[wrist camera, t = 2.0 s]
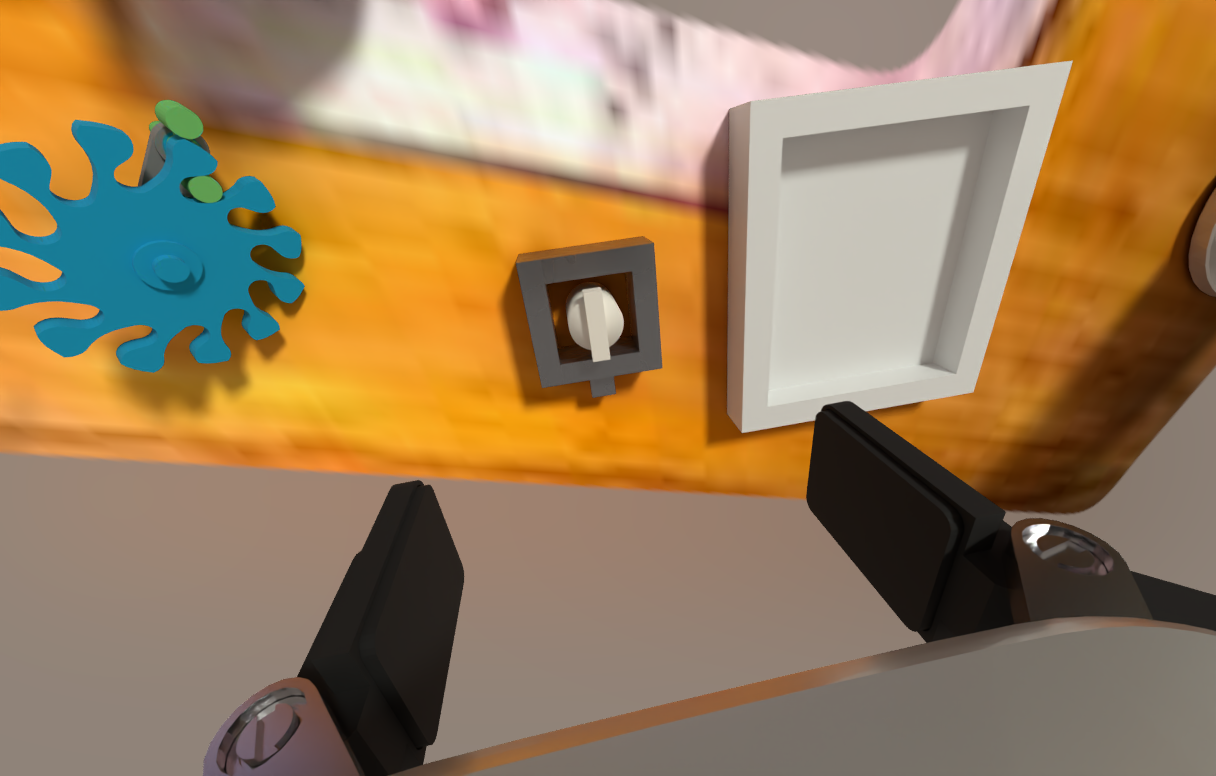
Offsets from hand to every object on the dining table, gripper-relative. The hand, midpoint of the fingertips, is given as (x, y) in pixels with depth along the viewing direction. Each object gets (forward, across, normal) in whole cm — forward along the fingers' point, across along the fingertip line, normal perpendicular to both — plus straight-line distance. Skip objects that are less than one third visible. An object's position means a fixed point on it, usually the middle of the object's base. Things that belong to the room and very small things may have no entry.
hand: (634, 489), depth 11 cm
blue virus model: (+17, +16, -6) cm, 24 cm away
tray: (+16, -17, 0) cm, 23 cm away
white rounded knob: (+16, -1, 0) cm, 16 cm away
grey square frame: (+16, -1, 0) cm, 16 cm away
